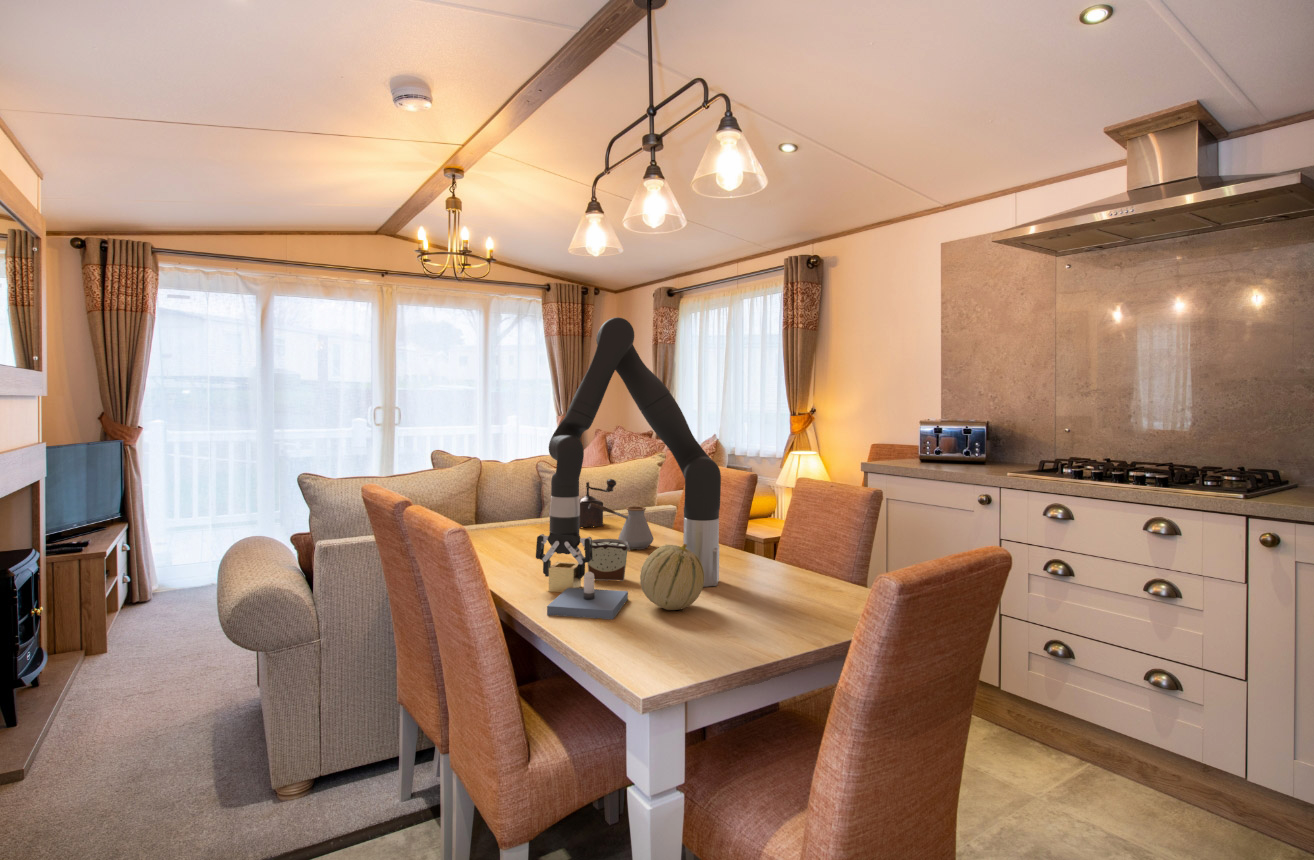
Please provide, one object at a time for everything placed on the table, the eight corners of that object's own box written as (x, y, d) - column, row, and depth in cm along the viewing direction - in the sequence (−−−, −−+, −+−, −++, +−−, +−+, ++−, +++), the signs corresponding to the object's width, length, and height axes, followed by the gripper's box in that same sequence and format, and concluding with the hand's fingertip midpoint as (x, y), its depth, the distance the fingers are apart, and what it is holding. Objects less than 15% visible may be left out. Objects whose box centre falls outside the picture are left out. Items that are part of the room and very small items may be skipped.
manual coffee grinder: (576, 528, 248) (576, 480, 247) (571, 523, 258) (571, 477, 257) (617, 526, 252) (617, 479, 251) (610, 521, 263) (610, 476, 262)
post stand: (627, 599, 160) (628, 565, 160) (612, 619, 146) (612, 582, 145) (567, 595, 163) (567, 562, 163) (547, 614, 148) (547, 578, 148)
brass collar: (580, 586, 171) (580, 563, 171) (573, 593, 165) (573, 569, 165) (557, 584, 172) (557, 561, 172) (548, 591, 166) (548, 567, 166)
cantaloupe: (630, 602, 158) (631, 539, 157) (686, 596, 164) (687, 535, 163) (655, 622, 144) (656, 553, 144) (715, 614, 150) (716, 548, 149)
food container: (632, 575, 183) (632, 539, 182) (629, 581, 176) (629, 543, 176) (588, 573, 184) (588, 537, 183) (583, 579, 178) (583, 542, 177)
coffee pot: (649, 542, 224) (650, 498, 224) (656, 550, 213) (657, 503, 212) (586, 545, 220) (586, 499, 219) (590, 552, 209) (590, 505, 208)
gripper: (596, 512, 171) (594, 575, 171) (543, 509, 173) (542, 571, 174) (587, 517, 163) (586, 583, 164) (532, 514, 166) (531, 578, 167)
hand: (563, 577), depth 169 cm, fingers open, 8 cm apart
